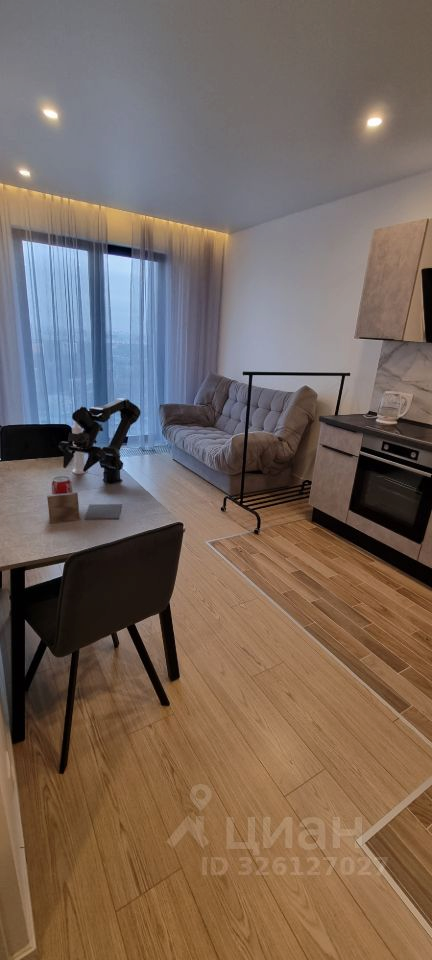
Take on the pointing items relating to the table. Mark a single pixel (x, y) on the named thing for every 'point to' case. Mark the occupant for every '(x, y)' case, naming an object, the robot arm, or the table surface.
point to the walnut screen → (63, 507)
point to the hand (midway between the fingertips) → (74, 469)
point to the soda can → (61, 485)
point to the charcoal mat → (103, 511)
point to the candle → (78, 453)
